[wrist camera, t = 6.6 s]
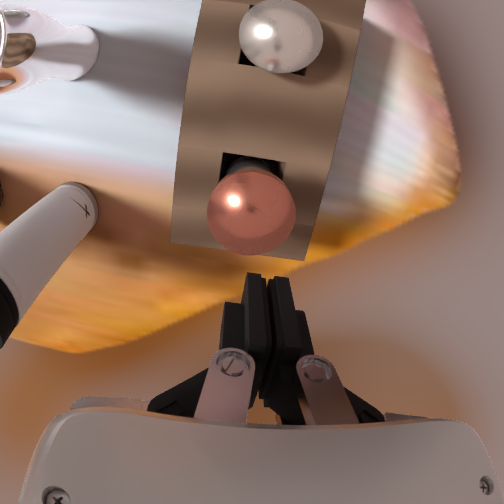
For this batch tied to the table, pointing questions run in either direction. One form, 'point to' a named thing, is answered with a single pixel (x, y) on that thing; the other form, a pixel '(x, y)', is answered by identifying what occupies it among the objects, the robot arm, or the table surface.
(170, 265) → the table surface
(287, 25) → the plug cream
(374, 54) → the table surface
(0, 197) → the beer bottle
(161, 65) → the table surface
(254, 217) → the plug terracotta
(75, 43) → the beer glass
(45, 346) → the table surface
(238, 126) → the socket board
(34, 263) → the travel mug
